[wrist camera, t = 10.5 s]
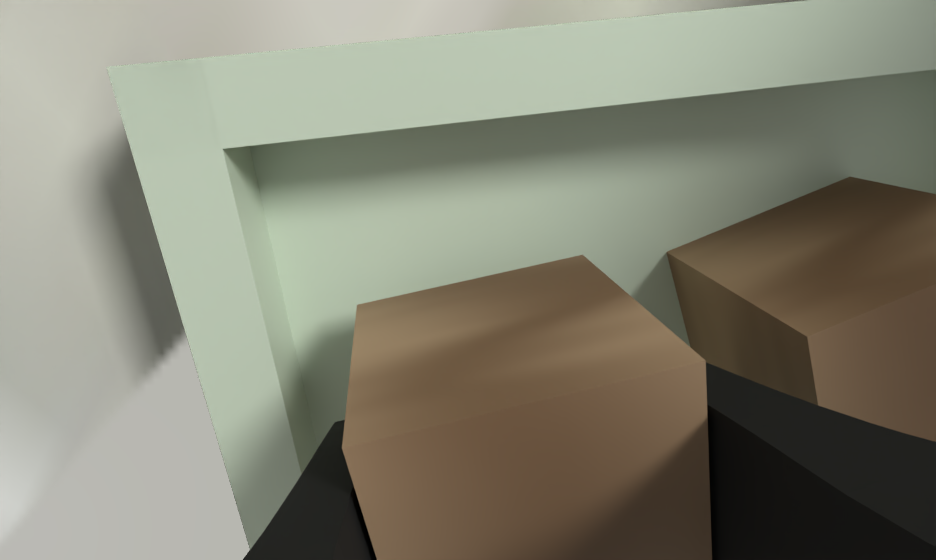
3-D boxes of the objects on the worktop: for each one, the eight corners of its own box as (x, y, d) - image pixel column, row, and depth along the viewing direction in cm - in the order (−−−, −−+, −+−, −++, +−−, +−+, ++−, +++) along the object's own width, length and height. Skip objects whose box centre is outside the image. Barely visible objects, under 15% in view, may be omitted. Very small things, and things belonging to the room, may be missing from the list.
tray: (999, -11, 11) (1151, -33, 9) (898, 476, 15) (985, 543, 13) (169, 70, 10) (106, 66, 7) (306, 590, 14) (291, 689, 12)
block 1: (582, 254, 10) (705, 360, 6) (603, 441, 11) (714, 619, 8) (356, 304, 10) (341, 448, 6) (407, 490, 11) (422, 701, 7)
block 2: (850, 176, 11) (1080, 223, 8) (868, 340, 13) (1070, 448, 9) (666, 252, 11) (806, 336, 8) (705, 408, 13) (840, 544, 9)
